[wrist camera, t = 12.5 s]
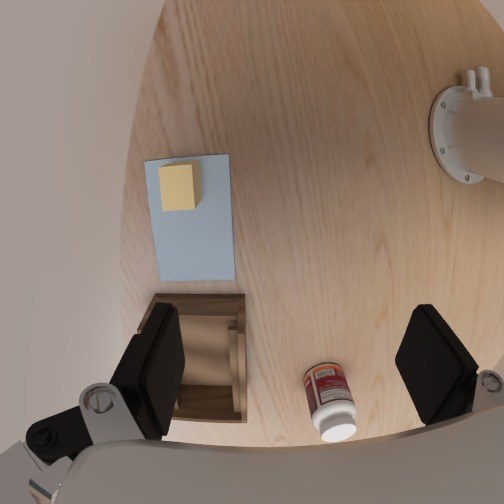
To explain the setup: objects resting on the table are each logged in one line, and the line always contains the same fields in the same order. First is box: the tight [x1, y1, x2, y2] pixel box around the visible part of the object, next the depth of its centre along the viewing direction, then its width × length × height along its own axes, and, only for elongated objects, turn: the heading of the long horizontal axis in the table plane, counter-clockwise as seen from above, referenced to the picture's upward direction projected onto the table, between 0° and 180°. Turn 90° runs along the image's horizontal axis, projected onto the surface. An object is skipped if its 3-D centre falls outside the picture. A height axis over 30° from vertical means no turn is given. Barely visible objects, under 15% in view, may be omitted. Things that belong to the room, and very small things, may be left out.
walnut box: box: [137, 294, 247, 423], centre depth 34 cm, size 16×11×7 cm
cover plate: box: [145, 154, 236, 281], centre depth 28 cm, size 14×9×5 cm, turn 2°
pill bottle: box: [304, 364, 356, 442], centre depth 35 cm, size 6×6×11 cm
